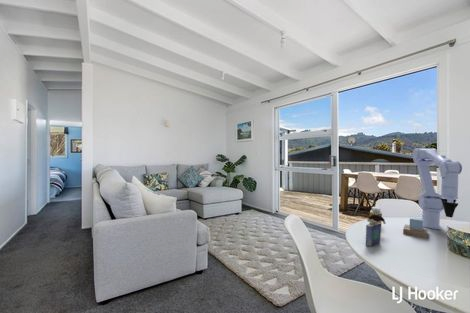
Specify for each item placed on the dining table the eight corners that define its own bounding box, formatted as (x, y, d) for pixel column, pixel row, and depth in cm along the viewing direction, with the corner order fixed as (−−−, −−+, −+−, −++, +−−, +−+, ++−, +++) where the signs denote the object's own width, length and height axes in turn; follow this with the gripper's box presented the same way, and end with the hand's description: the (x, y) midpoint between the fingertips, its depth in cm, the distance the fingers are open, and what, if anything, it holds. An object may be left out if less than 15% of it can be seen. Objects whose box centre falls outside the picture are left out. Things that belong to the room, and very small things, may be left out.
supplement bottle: (378, 228, 120) (378, 209, 120) (367, 225, 125) (367, 207, 125) (383, 226, 123) (384, 208, 123) (372, 224, 128) (373, 205, 128)
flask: (370, 247, 97) (370, 222, 97) (363, 244, 100) (363, 220, 99) (381, 243, 102) (382, 219, 101) (374, 240, 104) (375, 217, 104)
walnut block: (405, 230, 120) (405, 224, 120) (427, 234, 114) (427, 228, 114) (403, 234, 114) (403, 228, 114) (426, 239, 108) (427, 233, 108)
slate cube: (409, 226, 117) (410, 216, 117) (422, 228, 114) (422, 218, 114) (409, 228, 113) (409, 218, 113) (422, 231, 110) (422, 220, 110)
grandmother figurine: (367, 233, 113) (368, 208, 113) (366, 230, 117) (367, 206, 116) (386, 235, 110) (386, 209, 110) (384, 233, 114) (385, 207, 113)
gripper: (437, 184, 118) (436, 210, 118) (439, 187, 106) (437, 216, 107) (456, 186, 113) (455, 213, 113) (460, 189, 102) (459, 219, 102)
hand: (448, 215), depth 110 cm, fingers open, 7 cm apart
